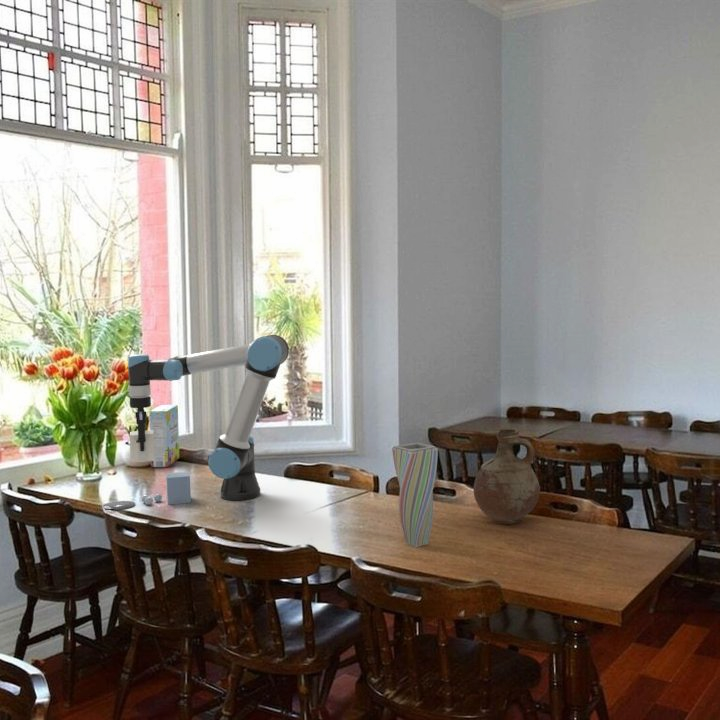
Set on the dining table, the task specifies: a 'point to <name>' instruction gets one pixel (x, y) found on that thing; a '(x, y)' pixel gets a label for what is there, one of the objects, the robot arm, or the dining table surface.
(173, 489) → the pale blue cube
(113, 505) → the coaster
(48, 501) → the dining table surface
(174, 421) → the snack box
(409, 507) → the vase
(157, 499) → the marble
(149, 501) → the marble
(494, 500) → the jug
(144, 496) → the marble
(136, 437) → the cream upright block
